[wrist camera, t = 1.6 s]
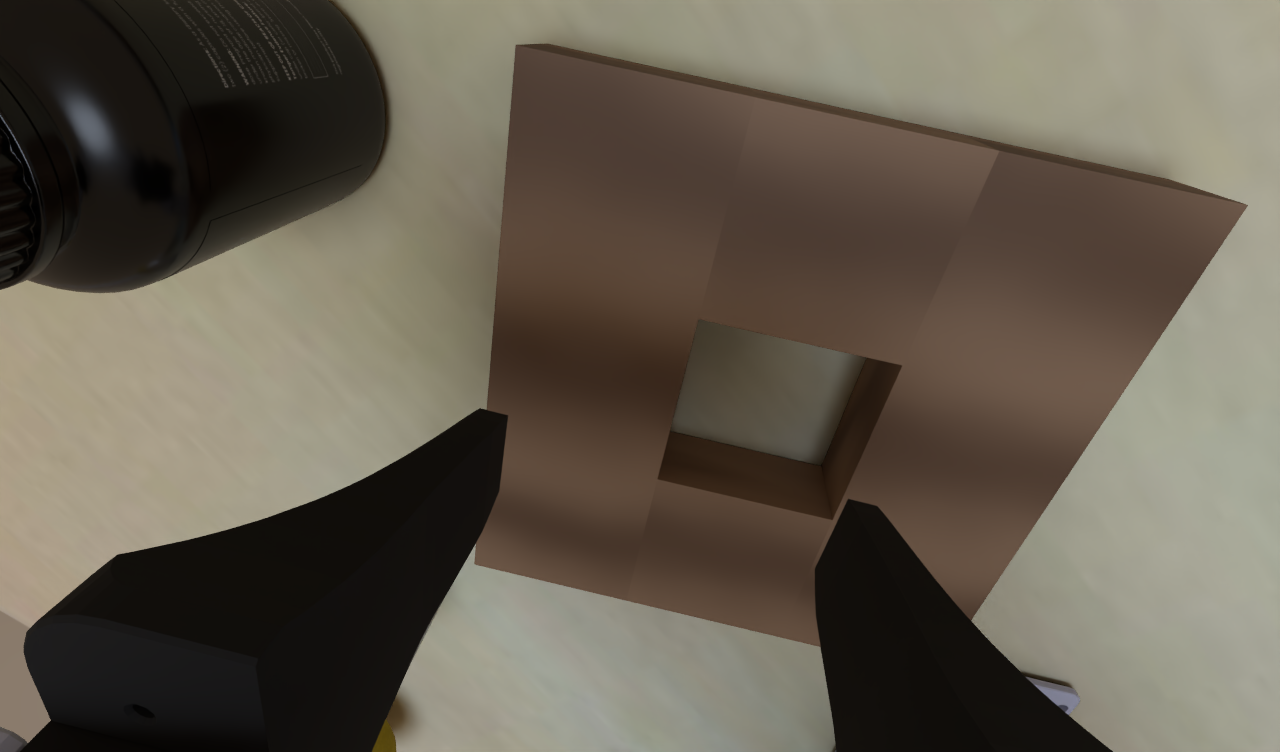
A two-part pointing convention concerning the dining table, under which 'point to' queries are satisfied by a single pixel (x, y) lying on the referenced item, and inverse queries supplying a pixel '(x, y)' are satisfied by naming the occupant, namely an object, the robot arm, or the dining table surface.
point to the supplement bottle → (172, 131)
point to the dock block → (802, 331)
